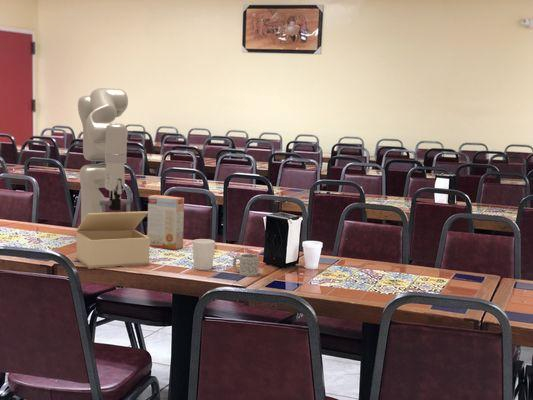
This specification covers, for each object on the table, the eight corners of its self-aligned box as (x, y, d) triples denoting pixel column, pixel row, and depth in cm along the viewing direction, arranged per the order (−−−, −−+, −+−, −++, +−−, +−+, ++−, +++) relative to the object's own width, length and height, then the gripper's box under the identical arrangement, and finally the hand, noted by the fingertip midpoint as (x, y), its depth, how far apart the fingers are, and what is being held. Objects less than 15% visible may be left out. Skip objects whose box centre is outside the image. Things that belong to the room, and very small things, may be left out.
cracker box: (183, 248, 312) (185, 197, 309) (175, 250, 306) (176, 198, 303) (155, 244, 318) (156, 194, 315) (146, 246, 312) (147, 195, 310)
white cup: (200, 264, 282) (201, 238, 281) (218, 268, 278) (219, 240, 277) (187, 268, 275) (188, 241, 274) (205, 271, 272) (206, 244, 270)
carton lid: (76, 231, 282) (74, 216, 284) (134, 229, 292) (132, 214, 294) (87, 214, 267) (86, 198, 269) (148, 212, 277) (146, 197, 279)
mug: (261, 274, 272) (262, 255, 271) (251, 277, 266) (252, 258, 265) (238, 270, 277) (238, 251, 276) (227, 273, 271) (228, 254, 270)
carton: (76, 258, 283) (76, 231, 282) (133, 255, 294) (134, 229, 292) (88, 268, 268) (89, 240, 266) (149, 265, 278) (149, 238, 276)
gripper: (99, 157, 279) (98, 207, 281) (111, 160, 265) (110, 213, 268) (119, 157, 283) (118, 206, 285) (132, 160, 269) (131, 212, 271)
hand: (114, 209), depth 276 cm, fingers closed on carton lid, 2 cm apart
